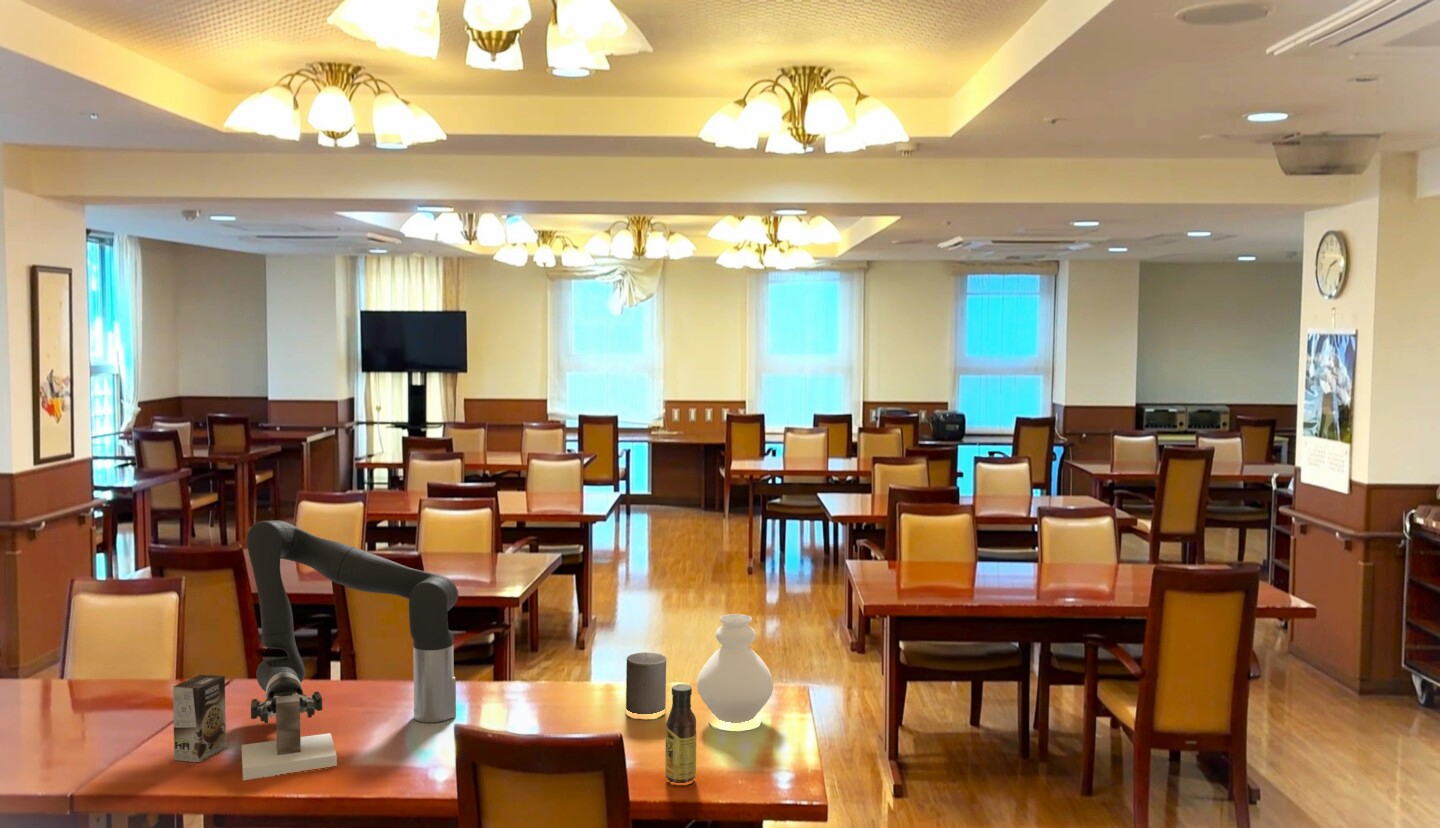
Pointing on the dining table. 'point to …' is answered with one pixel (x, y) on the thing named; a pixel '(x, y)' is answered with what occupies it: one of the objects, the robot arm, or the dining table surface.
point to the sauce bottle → (681, 737)
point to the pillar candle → (646, 683)
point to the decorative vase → (735, 673)
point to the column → (288, 724)
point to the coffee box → (199, 718)
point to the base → (287, 757)
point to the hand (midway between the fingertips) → (288, 715)
